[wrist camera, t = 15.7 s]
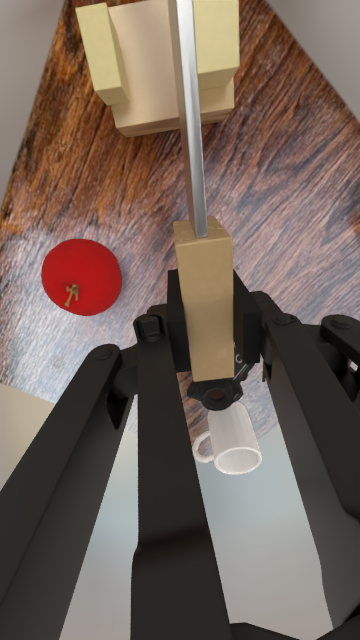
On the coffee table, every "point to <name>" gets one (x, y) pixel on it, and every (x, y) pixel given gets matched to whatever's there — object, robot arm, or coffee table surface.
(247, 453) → the mug
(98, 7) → the butter slice
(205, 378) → the knife
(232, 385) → the film camera
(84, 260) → the fruit
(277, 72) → the coffee table surface
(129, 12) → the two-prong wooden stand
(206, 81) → the butter block
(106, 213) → the coffee table surface
